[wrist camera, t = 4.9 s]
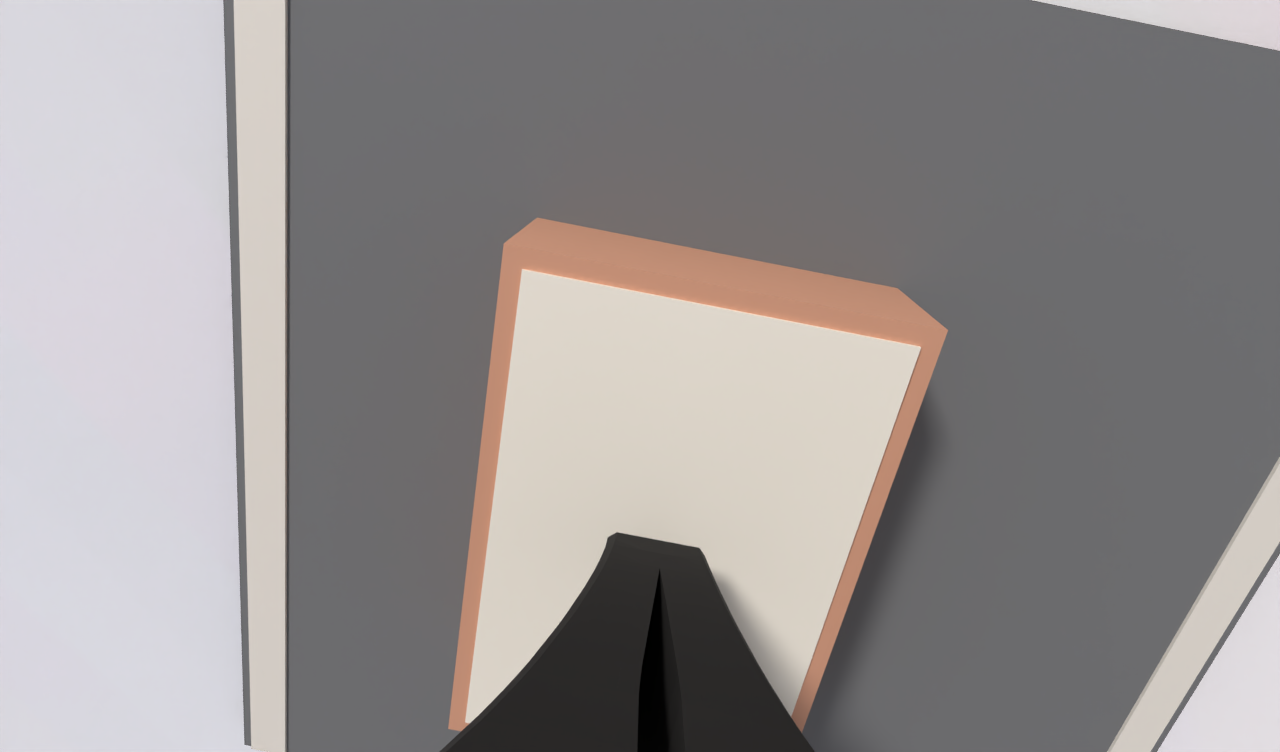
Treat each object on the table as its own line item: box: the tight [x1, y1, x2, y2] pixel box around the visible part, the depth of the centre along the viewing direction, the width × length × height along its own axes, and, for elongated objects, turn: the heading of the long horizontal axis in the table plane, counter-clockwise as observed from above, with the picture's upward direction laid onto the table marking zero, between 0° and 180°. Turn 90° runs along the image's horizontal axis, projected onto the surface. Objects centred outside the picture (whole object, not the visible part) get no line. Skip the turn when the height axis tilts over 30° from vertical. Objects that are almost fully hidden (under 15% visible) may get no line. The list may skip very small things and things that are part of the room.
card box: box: [448, 218, 948, 733], centre depth 12 cm, size 2×9×6 cm
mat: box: [223, 0, 1280, 752], centre depth 14 cm, size 20×18×1 cm
